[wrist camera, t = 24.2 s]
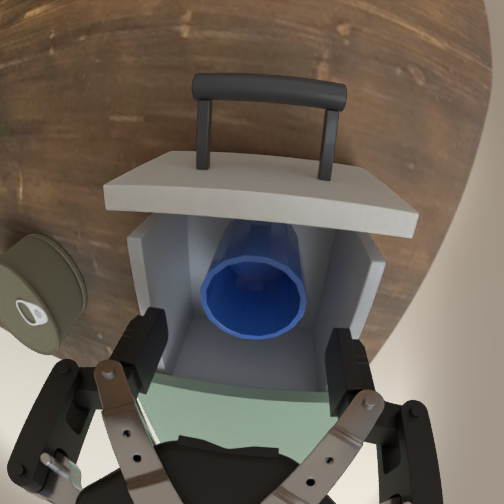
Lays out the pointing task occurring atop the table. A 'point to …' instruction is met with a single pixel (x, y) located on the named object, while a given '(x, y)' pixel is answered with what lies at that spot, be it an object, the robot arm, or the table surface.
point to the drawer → (260, 209)
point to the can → (40, 293)
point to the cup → (255, 280)
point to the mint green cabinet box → (237, 415)
